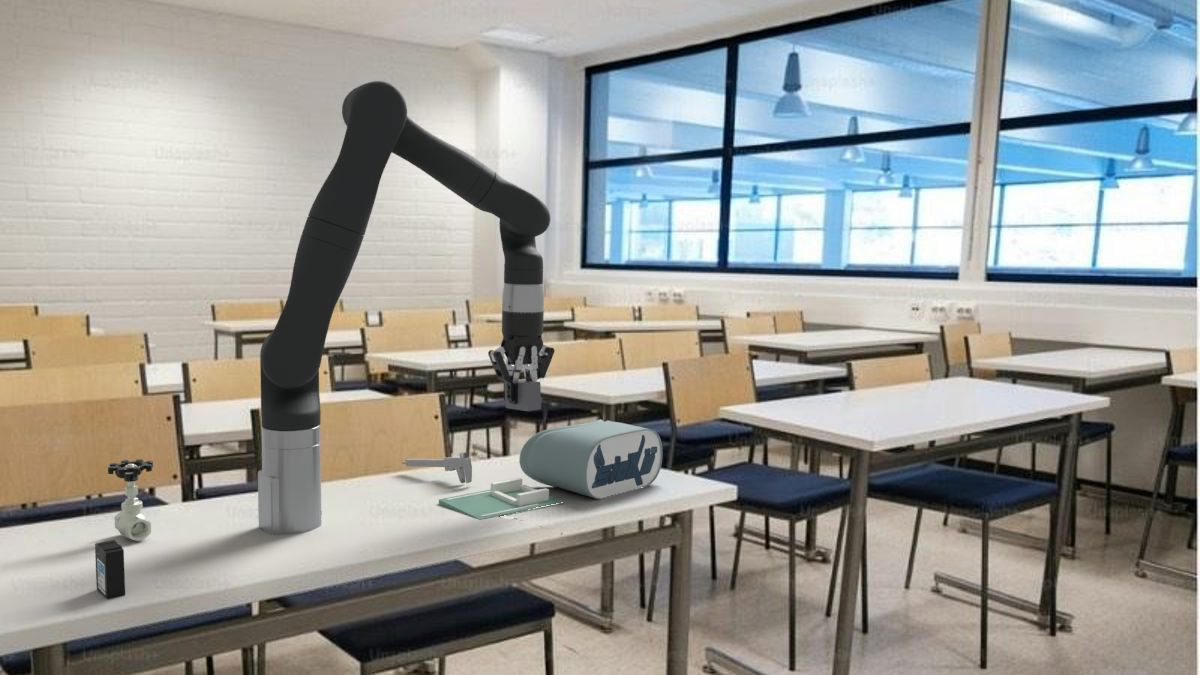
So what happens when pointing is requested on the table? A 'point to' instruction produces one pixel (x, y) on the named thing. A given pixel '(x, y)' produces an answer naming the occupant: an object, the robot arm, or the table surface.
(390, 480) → the table surface
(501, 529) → the table surface
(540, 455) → the pencil case
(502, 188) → the robot arm
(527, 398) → the switch
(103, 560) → the ink cartridge
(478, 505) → the board
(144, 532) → the valve
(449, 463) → the caliper
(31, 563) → the table surface
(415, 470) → the table surface
